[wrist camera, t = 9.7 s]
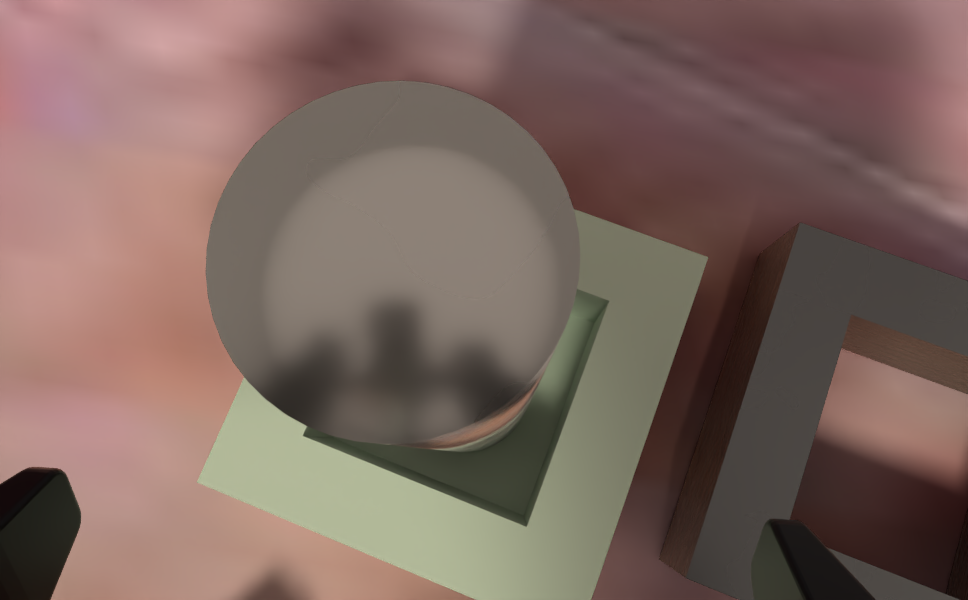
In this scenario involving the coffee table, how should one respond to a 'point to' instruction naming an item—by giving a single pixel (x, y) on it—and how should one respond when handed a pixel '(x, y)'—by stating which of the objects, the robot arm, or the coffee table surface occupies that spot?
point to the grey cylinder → (395, 266)
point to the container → (495, 447)
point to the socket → (808, 396)
